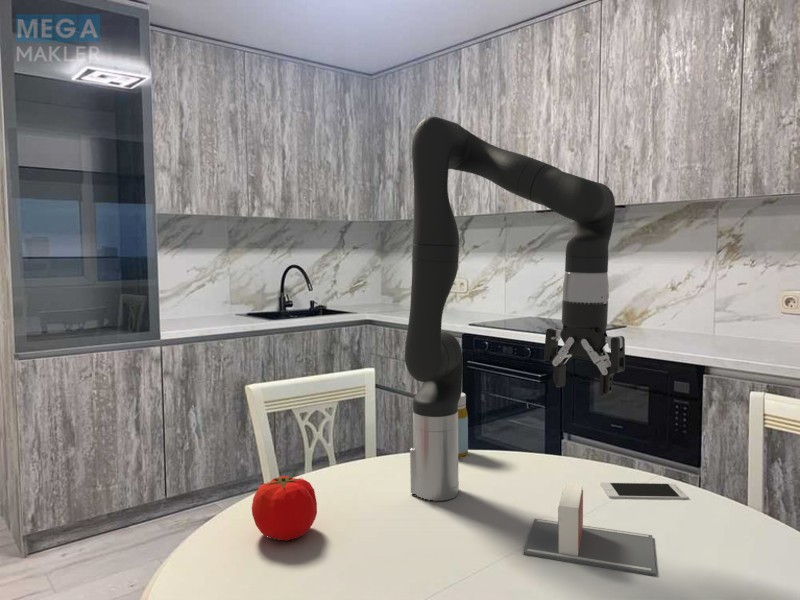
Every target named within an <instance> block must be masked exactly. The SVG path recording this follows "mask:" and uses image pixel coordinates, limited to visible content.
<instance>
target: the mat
mask: <svg viewBox="0 0 800 600" xmlns="http://www.w3.org/2000/svg"><path fill="white" fill-rule="evenodd" d="M522 554H523V555H525V556H531V557H538V558H543V559H548V560H549V559H550V560H554V561H555V560H556V561H561V562H568V563H573V564H579V565H586V566H592V567H599V568H604V569H610V570H611V569H612V570H617V571H622V572H629V573H635V574H641V575H645V576H653V577H656V576H657V573H656V560H655V549H654V539H653V535H652V534H647V533H639V532H631V531H624V530H617V529H612V528H605V527H598V526H597V527H596V526H592V525H591V526H590V525H584V524H583V529H582V536H581V542H580V548H579V552H578V556H573V555H567V554H561V553H559V548H558V521H554V520H548V519H540V518H534V519H533V521H532V524H531V527H530V531H529V535H528V537H527V539H526V542H525V545H524V549H523V552H522Z"/></svg>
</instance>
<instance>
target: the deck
mask: <svg viewBox="0 0 800 600" xmlns="http://www.w3.org/2000/svg"><path fill="white" fill-rule="evenodd" d="M557 508H558V510H557V511H558V512H557V514H558V516H557V518H558V521H557V522H558V548H559V553H561V554H567V555H573V556H578V552H579V548H580V542H581V536H582V529H583V525H584V519H583V518H584V490H583V484H576V483H570V482H569V483H568V482H564V486H563V488H562V491H561V496H560V500H559V504H558V507H557Z"/></svg>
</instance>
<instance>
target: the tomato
mask: <svg viewBox="0 0 800 600" xmlns="http://www.w3.org/2000/svg"><path fill="white" fill-rule="evenodd" d="M317 502H318V501H317V497H316V492H315V488H314V487H313V486H312V484H311V483H310V482H309V481H308V480H305V479H304V478H301V477H299V478H296V477H292V476H289V475H281V476H278V477H275V478H274V477H273V478H272V479H271V480H270V481H269V482H265V483H263V484H261V485H260V486H259V487H258V488H257V489H256V491H255V494H254V495H253V497H252V504H251V515H252V518H253V520H254V523H255V526H256V527H257V529H258V530H259V532H260V533H261V534H263V536H265V537H267V536H268V537H271V538H270V539H272V538H275V539H274V540H276V539H279V540H278V541H280V540H286V541H291V540H290V539H292V540H295V539H298V538H300V537H302V536H304V535H305V534H306V533H307V532H308V531H309V530H310V529H311V527H312V526H313V524H314V522H315V520H316V518H317V514H318V506H317V505H318V503H317ZM268 537H267V538H268ZM294 538H295V539H294Z"/></svg>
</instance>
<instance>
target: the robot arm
mask: <svg viewBox="0 0 800 600" xmlns="http://www.w3.org/2000/svg"><path fill="white" fill-rule="evenodd" d="M411 141H412V142H411V159H412V161H411V162H412V163H411V164H412V176H413V194H414V195H413V232H412V233H413V235H412V250H411V251H412V252H411V253H412V254H411V285H410V286H411V287H410V288H411V289H410V307H409V317H408V324H407V333H406V339H405V346H404V362H405V366H406V369H407V372H408V374H409V375H410V376H411V377H412V378H413V379H414V380H416V381H418V382H421V383H422V386H421V388H420V389H419V391H418V392H417V393H416V394H415V396H414V397H413V399H412V427H413V430H412V431H413V434H412V435H413V437H412V438H413V442H412V443H413V447H411V448H410V451H409V457H410V458H409V459H410V463H409V464H410V466H409V467H410V472H409V473H410V494H411V493H412V494H416V495H417V496H416V495H415V496H416V497H418V496H419V497H421V498H420V499H422V498H424V499H423V500H425V499H428V500H427V501H430V500H433V501H432V502H443V501H448V500H451V499H454V498H456V497H457V496H458V495H459V492H460V491H459V485H460V484H459V483H460V481H459V458H458V402H459V400H460V397H461V392H462V391H463V390H462V389H463V370H464V369H463V368H464V365H463V360H464V359H463V350H462V346H461V344H460V343H459V341H458V339H457V338H456V337H455V336H454V335H453V334H452V333H449V332H446V331H442V324H443V323H442V321H443V320H442V319H443V314H444V309H445V305H446V303H447V299H448V297H449V295H450V292H451V290H452V288H453V286H454V283H455V280H456V278H457V277H456V276H457V274H458V269H459V253H460V234H459V229H458V228H459V227H458V225H457V222H456V217H455V215H454V212H453V209H452V206H451V202H450V198H449V191H448V189H449V188H448V185H449V184H448V182H449V181H448V179H449V170H454V171H459V172H465V173H469V174H473V175H476V176H479V177H482V178H484V179H485V180H488V181H490V182H492V183H494V184H496V185H497V186H498V187H500V188H502V189H503V190H505V191H507V192H510V193H511V194H513V195H515V196H518V197H520V198H523V199H525V200H527V201H529V202H533V203H535V204H538V205H541V206H544V207H546V208H547V209H548V210H551V211H553V212H555V213H556V214H559V215H560V216H563V217H565V218H567V219H569V220H571V221H574V223H573V224H574V226H573V232H572V233H573V234H572V237H571V239H570V240H568V242H567V243H566V247H565V260H564V261H565V262H564V265H565V266H564V276H563V277H564V278H563V282H562V299H561V300H562V303H561V304H562V306H561V307H562V308H561V323H562V329H560V328H558V327H551V328H547V329H546V330H545V340H544V350H543V360H544V361H545V362H549V363H551V364H552V365H553V372H552V373H553V376H552V377H553V379H552V380H553V383H554V384H555V385H554V387H556V388H563V387H565V386H566V378H567V377H566V375H567V373H566V371H567V365H565V364H566V363H567V362H568V360H569V359H570V358H572V357H582V358H584V359H591V361H592V362H593V364H594V365H595V366H597V368H598V371H600V373H601V374H599V382H598V383H599V385H598V387H599V389H598V396H600V397H603V398H605V397H608V396H610V394H611V393H612V391H613V382H614V380H613V379H614V375H615V374H618V373H622V372H624V371H625V370H626V353H625V352H626V343H625V342H626V340H625V336H622V335H617V336H609V335H608V333H607V327H608V316H609V315H608V313H609V311H608V310H609V298H610V293H609V286H610V285H609V284H610V283H609V278H608V277H609V274H608V273H609V272H608V271H609V246H610V245H609V243H610V240H611V237H612V233H613V232H612V231H613V228H614V220H615V214H616V201H615V195H614V193H613V191H612V190H611V189H610V187H608V186H607V185H606V184H604V183H601V182H597V181H594V180H592V179H588V178H585V177H581V176H577V175H576V174H572V173H569V172H566V171H563V170H561V169H560V168H558V167H556V166H554V165H552V164H549V163H546V162H545V161H541V160H540V159H539V160H538V159H536V158H534V157H531V156H527V155H524V154H521V153H517V152H514V151H511V150H507V149H504V148H501V147H499V146H495V145H493V144H491V143H489V142H488V141H485V140H483V139H482V138H480V137H478V136H477V135H475V134H474V133H472V132H470V131H469V130H467V129H466V128H464V127H463V126H462V125H460V124H458V123H457V122H454V121H451V120H447V119H445V118H441V117H438V116H428V117H425V118H423V119H422V120H421V121H419V123H418V124H417V126H416V127H415V129H414V131H413V135H412V140H411ZM560 340H561V341H562V342H563V346H562V347H561V348H560V349H559V341H560ZM606 345H607V346H608V348H609V349H610V356H609V354H608V352H607V351H606V350H605V346H606ZM462 393H463V392H462ZM419 497H418V498H419Z"/></svg>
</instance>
